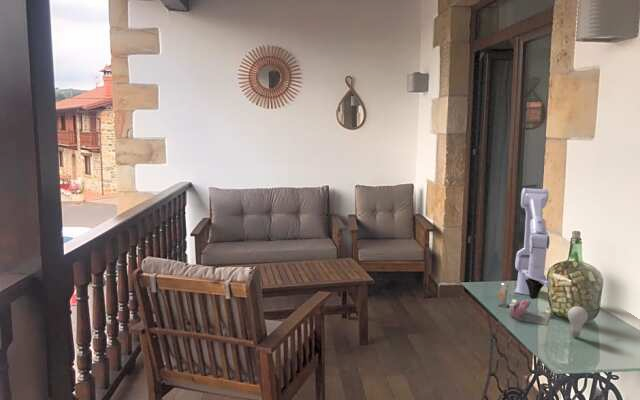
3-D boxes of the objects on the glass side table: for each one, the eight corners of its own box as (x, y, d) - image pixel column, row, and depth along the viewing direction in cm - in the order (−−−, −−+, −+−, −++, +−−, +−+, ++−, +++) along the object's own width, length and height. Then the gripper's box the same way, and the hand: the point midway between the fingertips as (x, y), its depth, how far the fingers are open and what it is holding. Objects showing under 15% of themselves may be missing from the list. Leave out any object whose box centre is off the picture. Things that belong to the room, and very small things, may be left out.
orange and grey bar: (501, 286, 206) (501, 281, 205) (508, 287, 204) (509, 283, 204) (497, 297, 194) (497, 292, 194) (505, 298, 193) (505, 293, 193)
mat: (515, 311, 200) (515, 310, 200) (548, 317, 194) (549, 317, 194) (511, 318, 193) (511, 317, 193) (546, 325, 187) (546, 325, 187)
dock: (500, 301, 209) (502, 286, 208) (551, 311, 200) (552, 295, 199) (497, 307, 203) (498, 291, 202) (549, 317, 194) (551, 300, 193)
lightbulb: (583, 335, 180) (587, 305, 178) (586, 342, 174) (590, 311, 172) (564, 332, 182) (567, 302, 180) (566, 339, 176) (569, 308, 174)
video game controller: (518, 323, 192) (529, 309, 189) (507, 315, 193) (518, 301, 190) (524, 314, 200) (534, 301, 197) (513, 307, 202) (523, 293, 199)
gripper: (559, 269, 193) (555, 304, 195) (533, 258, 206) (529, 290, 209) (543, 270, 191) (539, 305, 193) (518, 259, 205) (514, 292, 207)
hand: (533, 298), depth 201 cm, fingers closed
